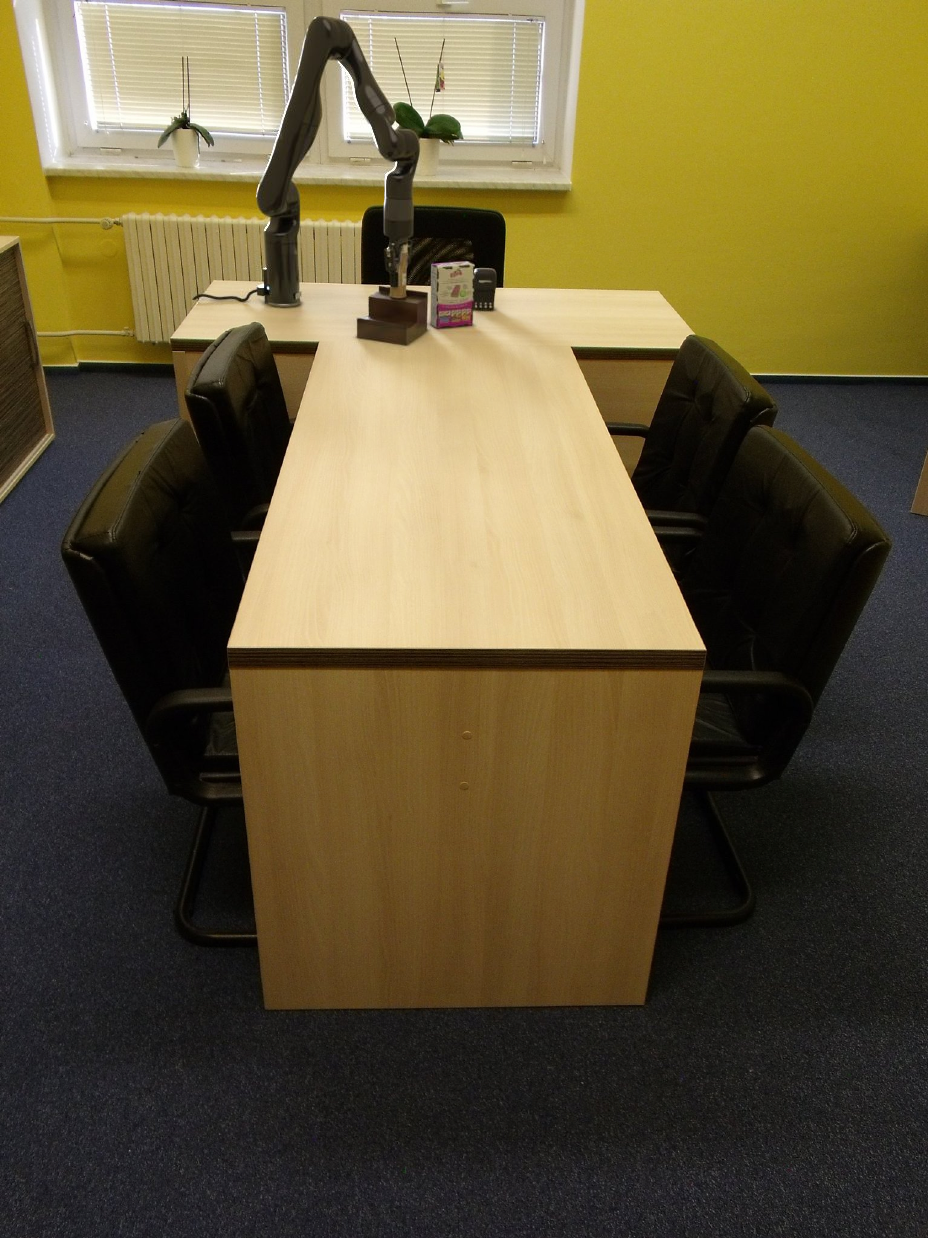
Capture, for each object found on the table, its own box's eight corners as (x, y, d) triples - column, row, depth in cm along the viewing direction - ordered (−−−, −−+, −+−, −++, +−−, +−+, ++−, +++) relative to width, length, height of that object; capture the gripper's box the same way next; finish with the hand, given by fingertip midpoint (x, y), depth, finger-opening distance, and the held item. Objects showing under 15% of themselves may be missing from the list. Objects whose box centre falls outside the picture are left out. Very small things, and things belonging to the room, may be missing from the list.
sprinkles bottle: (409, 297, 268) (410, 244, 261) (394, 299, 265) (395, 246, 258) (400, 293, 271) (401, 241, 264) (386, 295, 269) (386, 242, 261)
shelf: (356, 337, 266) (356, 298, 260) (379, 323, 278) (379, 285, 272) (406, 345, 262) (406, 305, 257) (427, 330, 274) (428, 292, 269)
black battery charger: (471, 311, 292) (473, 270, 286) (470, 307, 296) (472, 267, 289) (495, 311, 293) (497, 271, 287) (494, 308, 296) (496, 267, 290)
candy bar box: (465, 320, 284) (468, 260, 275) (473, 325, 280) (476, 264, 271) (428, 323, 279) (430, 262, 271) (436, 329, 276) (438, 267, 267)
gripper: (395, 209, 264) (395, 276, 273) (373, 219, 253) (373, 288, 262) (422, 212, 262) (421, 280, 271) (401, 222, 251) (400, 292, 260)
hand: (397, 284), depth 266 cm, fingers open, 4 cm apart
